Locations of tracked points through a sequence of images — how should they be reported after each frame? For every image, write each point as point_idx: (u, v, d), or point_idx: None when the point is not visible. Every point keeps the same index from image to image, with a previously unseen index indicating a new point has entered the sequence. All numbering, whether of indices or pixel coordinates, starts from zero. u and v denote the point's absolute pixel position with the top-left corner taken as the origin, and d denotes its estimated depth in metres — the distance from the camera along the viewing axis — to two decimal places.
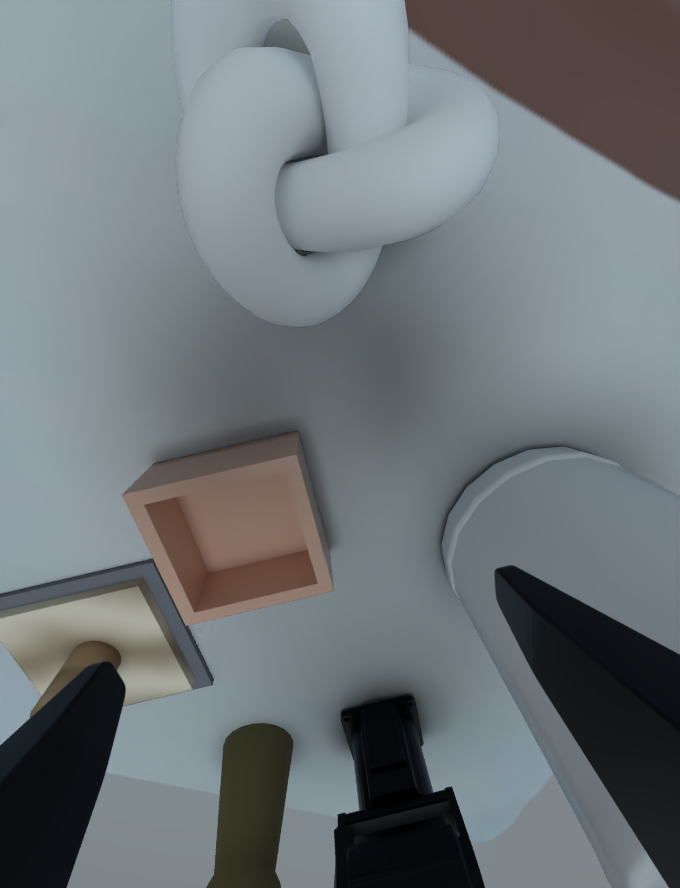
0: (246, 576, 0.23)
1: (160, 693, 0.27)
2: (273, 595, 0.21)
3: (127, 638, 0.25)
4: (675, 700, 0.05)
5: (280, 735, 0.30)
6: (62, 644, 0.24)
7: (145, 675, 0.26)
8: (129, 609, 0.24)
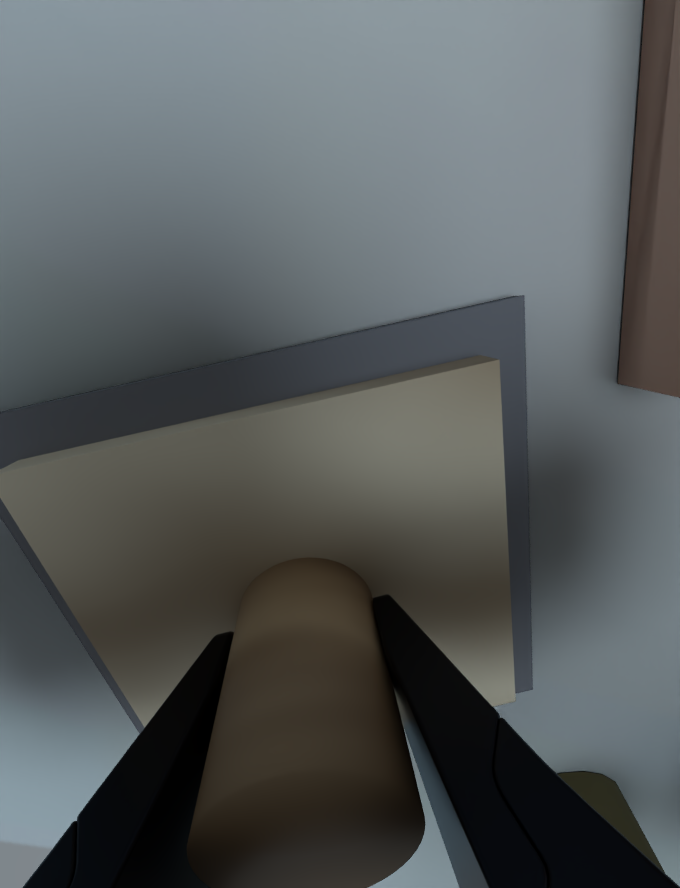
0: None
1: None
2: None
3: (408, 552, 0.08)
4: (463, 751, 0.05)
5: (621, 797, 0.14)
6: (220, 567, 0.08)
7: None
8: (444, 450, 0.07)
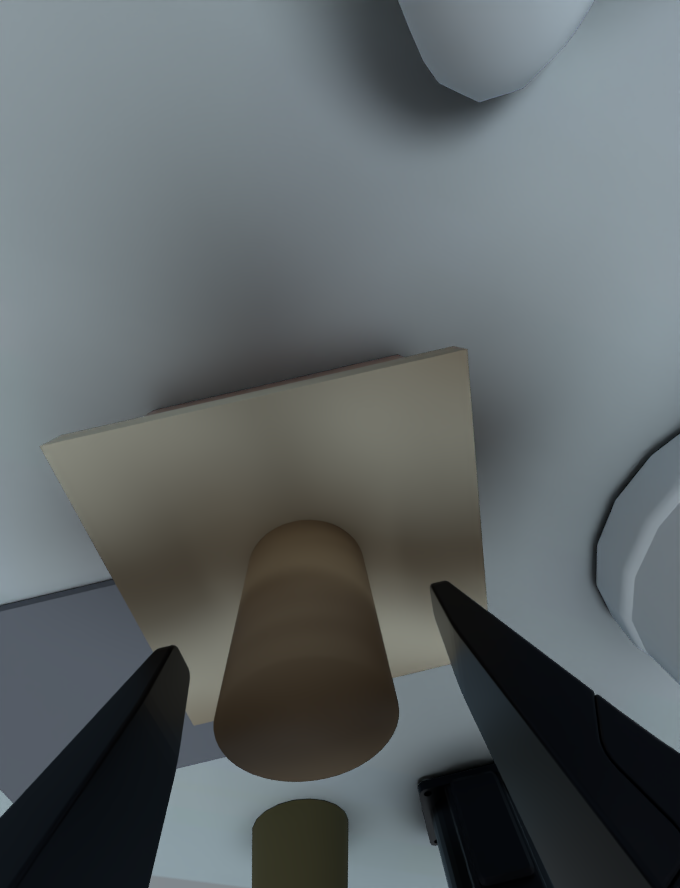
0: None
1: (422, 662, 0.12)
2: None
3: (393, 516, 0.10)
4: (563, 728, 0.05)
5: (333, 816, 0.22)
6: (232, 527, 0.09)
7: (404, 618, 0.11)
8: (422, 426, 0.09)
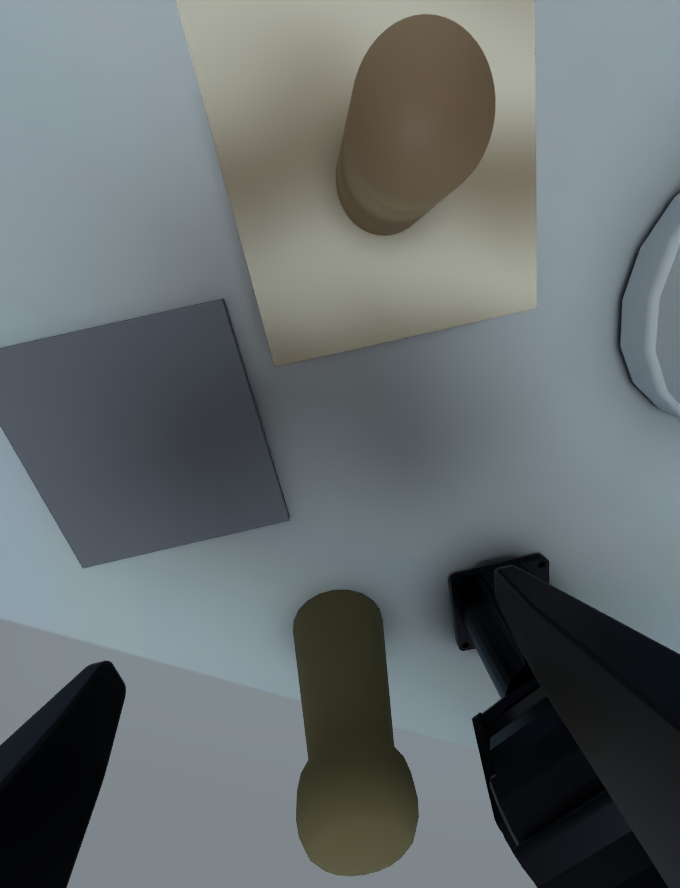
0: None
1: (477, 310, 0.13)
2: None
3: None
4: (675, 701, 0.05)
5: (370, 605, 0.23)
6: (326, 118, 0.11)
7: (464, 251, 0.12)
8: (492, 14, 0.10)
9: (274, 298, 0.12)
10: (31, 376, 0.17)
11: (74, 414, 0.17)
